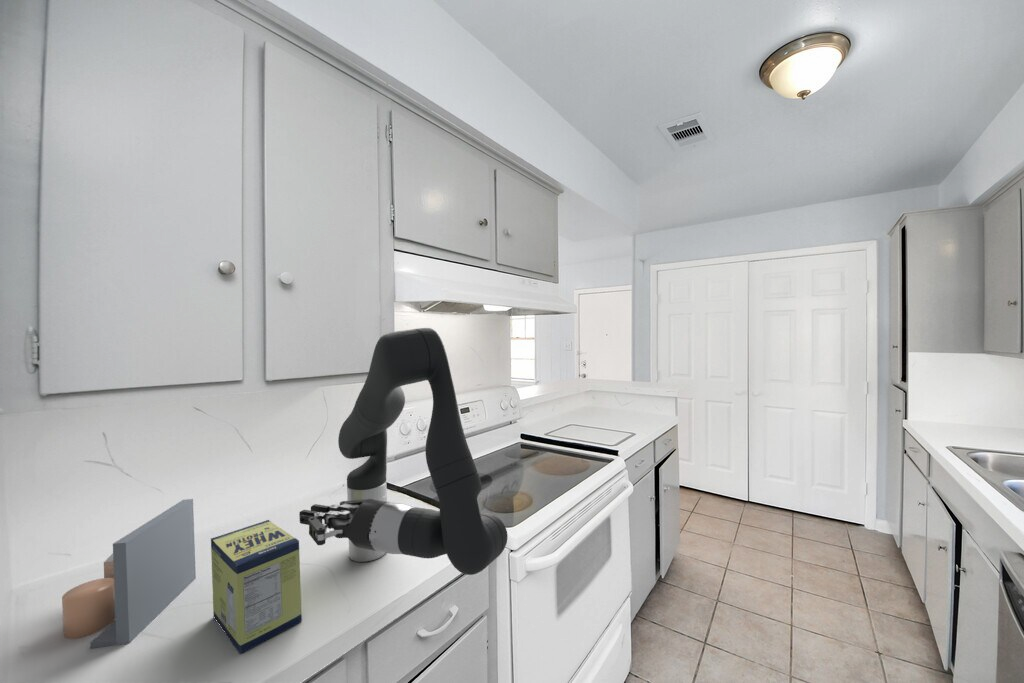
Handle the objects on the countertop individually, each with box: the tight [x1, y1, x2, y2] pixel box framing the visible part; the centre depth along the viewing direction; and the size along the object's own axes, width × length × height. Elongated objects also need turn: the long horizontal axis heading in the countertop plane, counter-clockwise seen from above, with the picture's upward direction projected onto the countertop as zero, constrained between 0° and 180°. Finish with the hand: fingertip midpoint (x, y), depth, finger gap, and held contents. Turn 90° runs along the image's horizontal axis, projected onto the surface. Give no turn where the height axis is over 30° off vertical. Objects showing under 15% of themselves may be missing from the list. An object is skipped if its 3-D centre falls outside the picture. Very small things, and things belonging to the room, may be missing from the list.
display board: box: [89, 498, 197, 649], centre depth 82 cm, size 20×6×18 cm, turn 10°
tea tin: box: [103, 553, 114, 579], centre depth 87 cm, size 5×5×9 cm
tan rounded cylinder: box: [61, 577, 116, 640], centre depth 78 cm, size 7×7×7 cm
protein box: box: [210, 519, 303, 654], centre depth 78 cm, size 10×16×16 cm
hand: (307, 513), depth 73 cm, fingers closed
